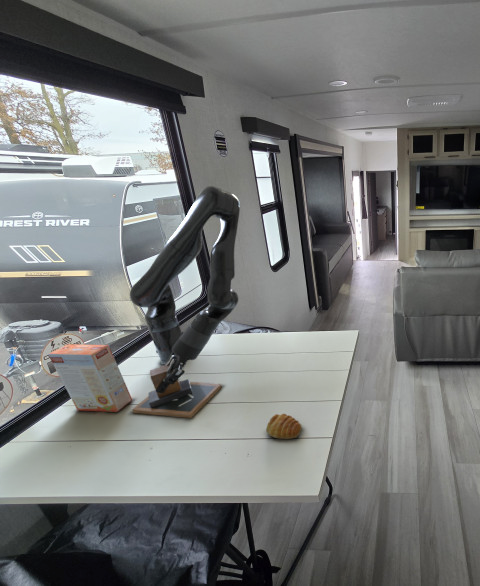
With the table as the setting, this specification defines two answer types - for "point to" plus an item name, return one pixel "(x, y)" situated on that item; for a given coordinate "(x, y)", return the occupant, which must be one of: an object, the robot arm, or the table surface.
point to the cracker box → (91, 377)
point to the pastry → (283, 427)
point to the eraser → (172, 390)
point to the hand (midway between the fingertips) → (158, 387)
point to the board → (182, 402)
